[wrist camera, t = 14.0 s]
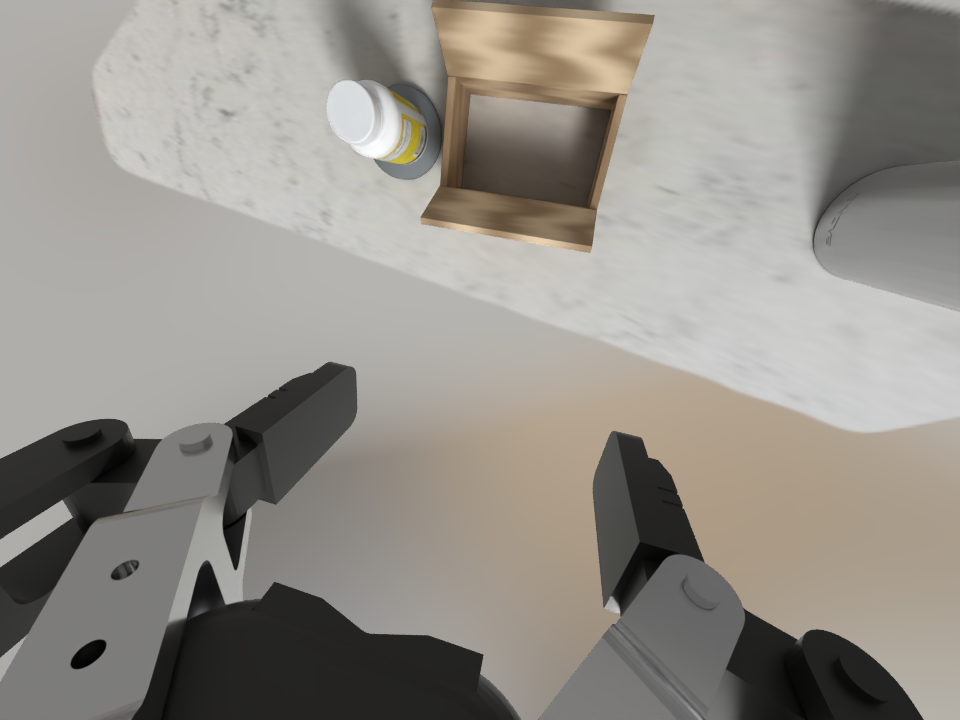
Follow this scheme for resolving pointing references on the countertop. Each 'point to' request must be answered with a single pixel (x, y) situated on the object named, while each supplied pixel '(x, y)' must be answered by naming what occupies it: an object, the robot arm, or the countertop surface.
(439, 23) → the carton
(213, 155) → the countertop surface
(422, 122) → the supplement bottle
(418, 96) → the coaster
